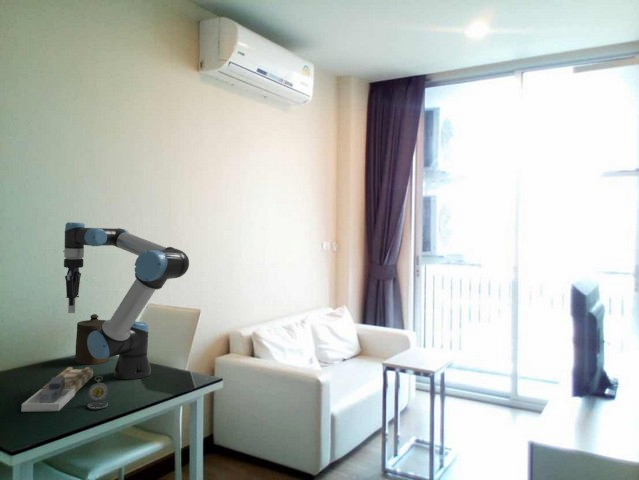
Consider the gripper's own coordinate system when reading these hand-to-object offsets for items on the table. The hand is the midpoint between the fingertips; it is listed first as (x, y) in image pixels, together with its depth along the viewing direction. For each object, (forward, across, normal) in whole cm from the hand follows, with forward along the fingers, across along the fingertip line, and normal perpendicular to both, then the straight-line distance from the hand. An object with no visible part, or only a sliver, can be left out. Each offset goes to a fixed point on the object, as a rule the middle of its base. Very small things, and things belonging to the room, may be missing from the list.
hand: (72, 312), depth 211 cm
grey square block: (+26, +34, +5) cm, 43 cm away
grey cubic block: (+24, +36, +5) cm, 43 cm away
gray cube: (+24, +29, +5) cm, 38 cm away
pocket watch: (+27, +40, +22) cm, 53 cm away
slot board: (+26, +16, +5) cm, 31 cm away
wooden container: (+27, -22, +3) cm, 34 cm away
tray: (+26, +36, +5) cm, 45 cm away
